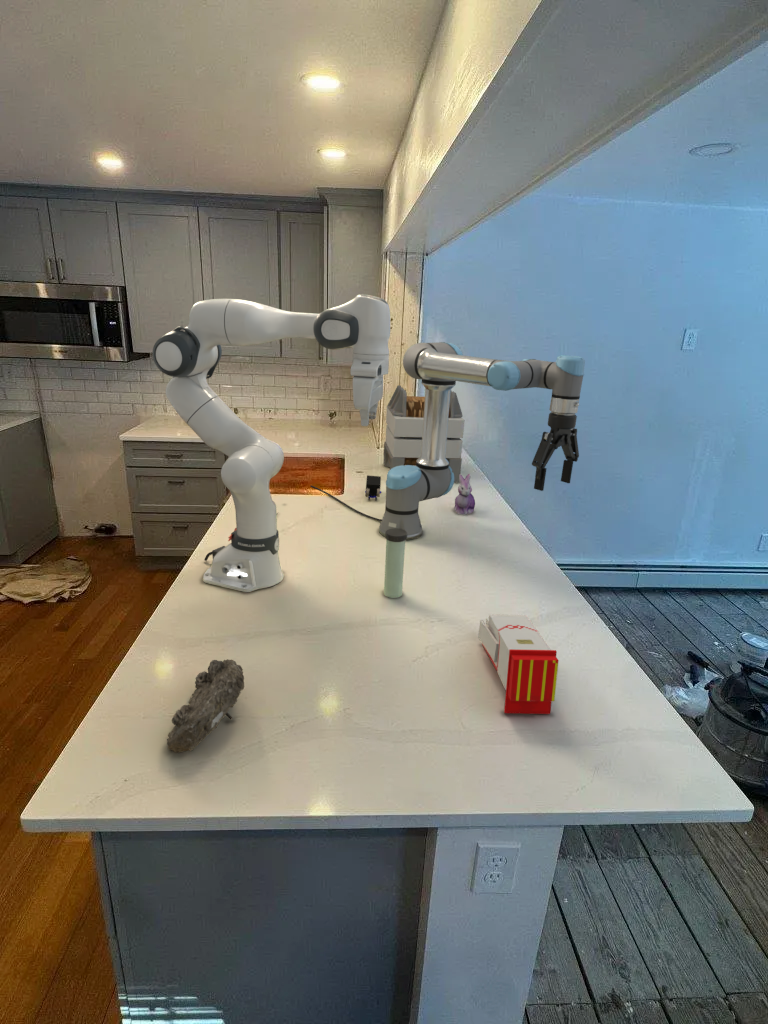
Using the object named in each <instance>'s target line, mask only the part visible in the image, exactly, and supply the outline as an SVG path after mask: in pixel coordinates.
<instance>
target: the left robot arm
mask: <svg viewBox="0 0 768 1024" xmlns="http://www.w3.org/2000/svg"><path fill="white" fill-rule="evenodd" d="M188 315H189V316H188V324H187V326H182V325H180V326H177V327H175V328H174V329H172V330H171V331H169V332H167V333H165V334H164V335H162V336H161V337H159V338H158V339H157V340H156V341H155V343H154V345H153V348H152V360H153V362H154V364H155V365H156V367H157V368H158V370H159V371H160V372H162V373H163V374H165V375H166V376H169V377H172V378H171V379H170V380H168V382H167V384H166V387H165V396H166V399H167V400H168V401H169V403H170V405H171V406H172V408H173V409H174V410H175V412H176V413H177V414H178V416H179V417H180V418H181V419H182V421H184V423H185V424H186V425H187V426H188V427H189V428H190V430H192V431H193V432H194V433H195V434H196V435H197V436H198V438H199V439H200V440H201V441H202V442H203V443H204V444H205V445H206V446H207V447H209V448H211V449H214V450H217V451H219V452H220V453H222V454H224V455H225V456H227V457H228V458H227V459H226V460H225V462H224V463H223V465H222V467H221V470H220V477H221V481H222V483H223V485H224V486H225V488H227V490H229V492H230V495H231V497H232V500H233V503H234V504H233V505H234V511H235V525H236V526H235V528H234V530H233V531H232V532H231V533H230V535H229V536H228V540H227V541H228V542H230V543H229V544H227V545H222V546H220V547H217V548H214V549H213V550H211V551H209V552H208V553H207V554H206V555H205V556H204V559H203V561H205V562H207V561H208V560H209V558H210V556H212V560H211V565H210V567H208V568H207V570H206V571H205V572H204V573H203V577H202V581H203V583H205V584H209V585H214V586H218V587H222V588H227V589H231V590H235V591H239V592H242V593H250V592H251V593H252V592H253V591H256V590H261V589H266V588H270V587H273V586H275V585H278V584H279V583H280V582H282V581H283V579H284V578H285V574H284V571H283V567H282V565H281V561H280V555H279V550H280V538H279V537H280V535H279V530H278V519H277V517H278V514H277V513H278V511H277V510H278V509H277V504H276V502H275V501H274V500H273V498H272V494H271V490H270V481H271V479H272V478H274V477H275V476H277V474H278V473H280V471H281V470H282V468H283V465H284V461H285V453H284V450H283V448H282V447H281V445H280V444H279V443H277V442H276V441H274V440H271V439H268V438H266V437H265V436H264V435H262V434H261V433H260V432H258V431H257V430H255V429H254V428H253V427H251V426H250V425H248V423H246V422H245V421H244V420H242V419H241V418H240V417H239V416H238V415H237V414H236V413H235V412H234V411H233V410H232V409H231V408H230V407H229V405H227V404H226V402H225V401H223V400H222V399H221V397H220V396H219V395H218V394H217V393H216V392H215V390H213V388H212V387H211V386H210V385H209V383H208V379H210V378H212V377H213V375H214V372H215V370H216V368H217V366H218V365H219V363H220V361H221V359H222V356H223V355H222V354H223V350H222V346H232V347H233V346H236V347H249V346H258V345H263V344H268V343H271V342H275V341H279V340H285V339H310V340H311V339H312V340H316V342H317V343H318V344H319V345H320V346H321V347H323V348H325V349H328V350H330V351H339V350H344V349H352V364H351V366H350V370H349V373H350V376H351V377H352V402H353V406H354V409H355V410H359V416H360V426H361V427H368V426H369V424H370V420H375V419H377V411H378V405H379V402H380V401H381V400H382V399H383V397H384V376H385V375H388V374H389V366H390V365H389V364H390V349H389V340H390V337H391V310H390V306H389V303H388V302H387V301H386V299H384V298H383V297H379V296H375V295H371V294H366V293H360V294H357V295H356V296H355V297H354V298H352V299H350V300H349V301H347V302H345V303H343V304H340V305H337V306H333V307H330V308H327V309H325V310H323V311H321V312H320V313H315V312H313V313H312V312H298V311H297V312H295V311H289V310H284V309H281V308H277V307H273V306H270V305H266V304H263V303H260V302H257V301H251V300H246V299H240V298H211V299H205V300H200V301H199V300H198V301H197V302H195V303H194V304H193V306H192V307H191V309H190V311H189V313H188Z"/></svg>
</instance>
